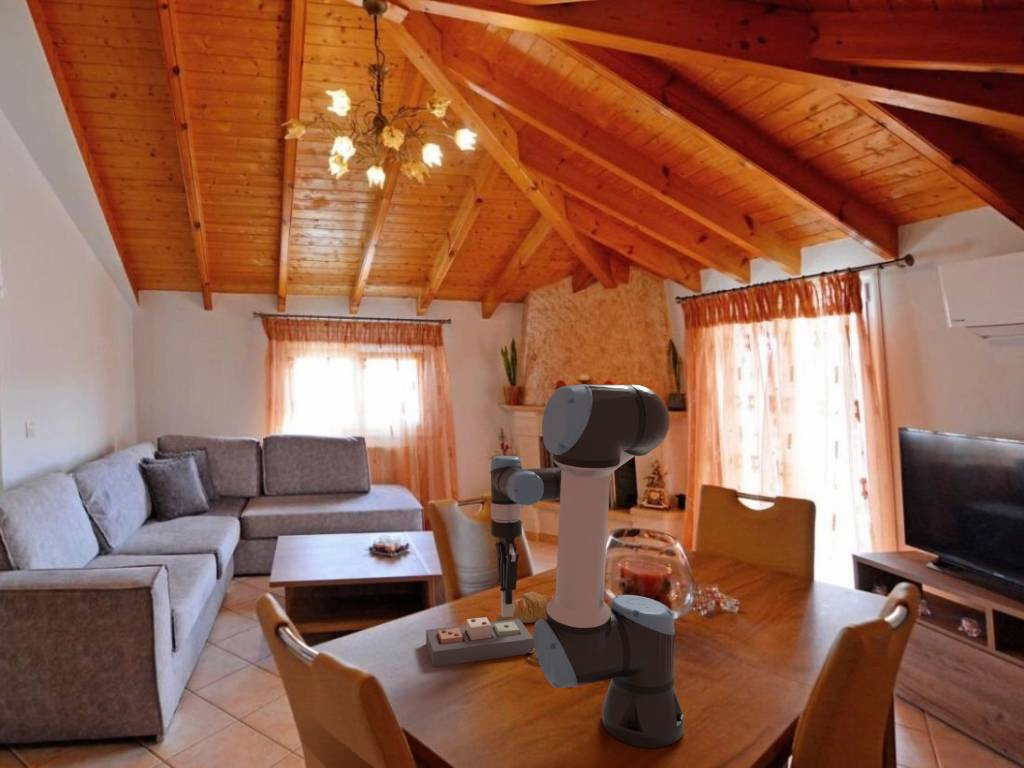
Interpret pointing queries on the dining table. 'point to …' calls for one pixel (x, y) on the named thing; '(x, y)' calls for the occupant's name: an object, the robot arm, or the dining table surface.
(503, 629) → the button one
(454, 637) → the button three
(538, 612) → the croissant
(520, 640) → the console
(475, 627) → the button two
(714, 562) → the dining table surface
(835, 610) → the dining table surface
